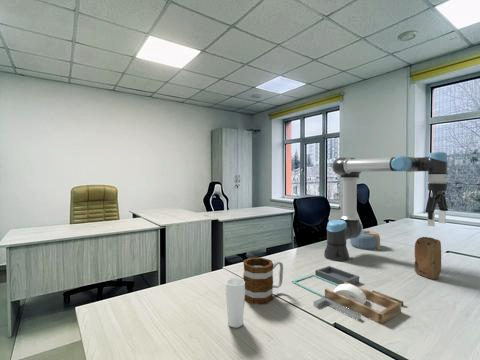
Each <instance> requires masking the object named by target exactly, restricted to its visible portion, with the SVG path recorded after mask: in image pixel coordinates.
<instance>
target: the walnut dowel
mask: <svg viewBox="0 0 480 360" xmlns="http://www.w3.org/2000/svg"><path fill="white" fill-rule="evenodd" d="M371 292H373V293H376V294H379V295H381V296H384V297H386V298H389V299H392V300H394V301H397V302H399V303H401V307H403V306H404V301H402V300H400V299H397V298H395V297H392V296H390V295H387V294H384V293H381V292H379V291H376V290H374V289H373V290H371Z"/></svg>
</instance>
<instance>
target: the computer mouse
mask: <svg viewBox="0 0 480 360" xmlns="http://www.w3.org/2000/svg"><path fill="white" fill-rule="evenodd" d="M354 285H355V284H354ZM354 285H351V284H341V285H338V286H336V287H335V288H334V290H332V291H333V292H336V293H338V294H340V295H343V296H345V297H347V298H349V299H352V300H354V301H356V302H358V303H361V304H363V305H365V304H366V302H367V299H366V296H365V294H364V293H363V292H362V290H360V289H359V288H357V287H356V286H357V285H355V286H354Z"/></svg>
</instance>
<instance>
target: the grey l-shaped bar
mask: <svg viewBox="0 0 480 360" xmlns="http://www.w3.org/2000/svg"><path fill="white" fill-rule="evenodd" d="M324 304H325V305H326V306H327V307H330V308H332V309H334V308H335V309H334V310H336V309H337V310H336V311H338V310H339V311H338V312H340V311H341V312H340V313H342V312H343V313H342V314H344V313H345V314H344V315H346V314H347V315H346V316H348V315H349V316H348V317H350V316H351V317H350V318H352V317H353V318H352V319H354V318H355V319H354V320H356V319H357V320H356V321H358V320H359V321H360V320H362V315H361V314H359V313H357V312H355V311H353V310H351V309H348V308H346V307H344V306H342V305H340V304H338V303H336V302H334V301H332V300H330V299H327V298H325V297H321V298H319V299H317V300H313V307H315V308H317V307H318V308H320V307H322V306H325V305H324Z"/></svg>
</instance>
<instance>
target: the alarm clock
mask: <svg viewBox="0 0 480 360" xmlns="http://www.w3.org/2000/svg"><path fill="white" fill-rule="evenodd" d="M349 243H350V244H351V247H353V248H356V249H360V250H366V251H367V250H368V251H372V250H373V251H374V250H380V249H381V235H380V234H379V233H378V232H376V231H373V230H368V229H362V233H361V234H360V235H359V236H358V237H356V238H351V239H349Z"/></svg>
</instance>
